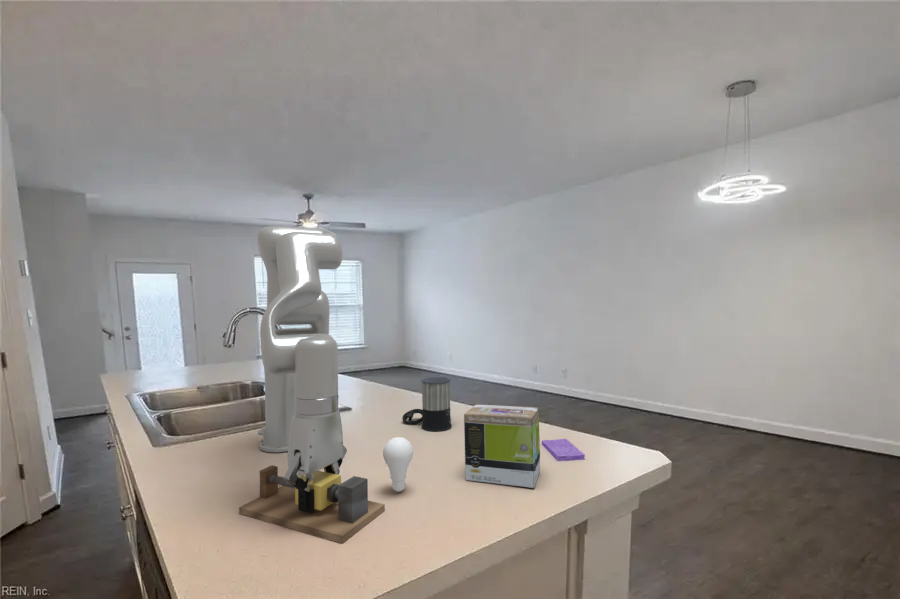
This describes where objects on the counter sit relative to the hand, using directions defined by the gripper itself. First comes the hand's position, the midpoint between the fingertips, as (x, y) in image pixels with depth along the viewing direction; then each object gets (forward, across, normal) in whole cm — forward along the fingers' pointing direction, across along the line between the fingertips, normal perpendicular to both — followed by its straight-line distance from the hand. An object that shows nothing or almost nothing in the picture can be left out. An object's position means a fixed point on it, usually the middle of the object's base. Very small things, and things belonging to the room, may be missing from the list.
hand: (318, 502), depth 81 cm
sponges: (+3, -51, +34) cm, 61 cm away
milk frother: (+2, -58, -9) cm, 59 cm away
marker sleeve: (0, 0, 0) cm, 0 cm away
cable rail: (+2, 0, -2) cm, 3 cm away
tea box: (+2, -30, +25) cm, 39 cm away
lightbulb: (+2, -14, +8) cm, 16 cm away
